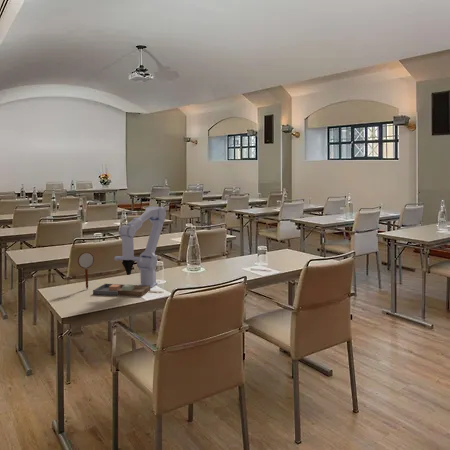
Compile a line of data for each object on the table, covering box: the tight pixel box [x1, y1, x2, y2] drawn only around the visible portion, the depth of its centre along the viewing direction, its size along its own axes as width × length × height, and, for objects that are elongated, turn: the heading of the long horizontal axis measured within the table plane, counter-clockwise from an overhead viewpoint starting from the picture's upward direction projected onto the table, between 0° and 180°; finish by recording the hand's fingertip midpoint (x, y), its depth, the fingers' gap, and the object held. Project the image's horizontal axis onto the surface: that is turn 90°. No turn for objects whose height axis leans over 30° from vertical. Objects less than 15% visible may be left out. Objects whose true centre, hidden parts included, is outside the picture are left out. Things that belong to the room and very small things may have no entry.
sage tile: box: [122, 283, 135, 291], centre depth 249 cm, size 4×4×2 cm
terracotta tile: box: [109, 283, 121, 291], centre depth 257 cm, size 4×4×2 cm
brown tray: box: [117, 284, 151, 298], centre depth 252 cm, size 12×13×2 cm
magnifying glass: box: [77, 251, 95, 290], centre depth 258 cm, size 9×2×20 cm, turn 126°
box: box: [92, 283, 125, 297], centre depth 255 cm, size 14×13×2 cm
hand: (128, 274), depth 252 cm, fingers closed
